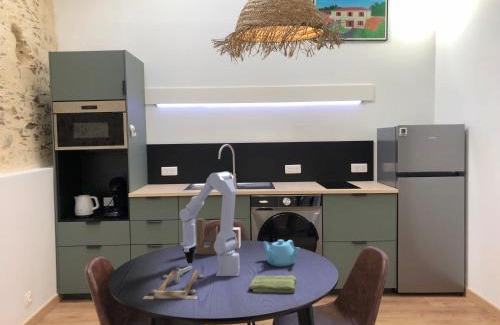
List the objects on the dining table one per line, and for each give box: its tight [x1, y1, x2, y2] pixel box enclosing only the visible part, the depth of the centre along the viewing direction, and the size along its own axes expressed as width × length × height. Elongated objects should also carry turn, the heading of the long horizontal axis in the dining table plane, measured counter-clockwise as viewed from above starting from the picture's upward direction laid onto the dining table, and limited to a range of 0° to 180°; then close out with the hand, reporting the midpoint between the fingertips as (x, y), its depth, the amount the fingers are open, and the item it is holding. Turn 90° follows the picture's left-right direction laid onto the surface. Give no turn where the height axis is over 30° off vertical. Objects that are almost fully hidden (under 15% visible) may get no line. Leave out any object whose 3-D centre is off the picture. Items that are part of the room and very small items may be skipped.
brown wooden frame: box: [195, 217, 219, 256], centre depth 193 cm, size 4×11×18 cm, turn 84°
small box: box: [233, 226, 242, 250], centre depth 204 cm, size 8×6×10 cm
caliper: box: [174, 265, 193, 285], centre depth 163 cm, size 20×1×6 cm, turn 171°
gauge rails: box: [142, 269, 204, 300], centre depth 152 cm, size 20×27×2 cm
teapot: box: [262, 239, 301, 268], centre depth 177 cm, size 15×15×11 cm
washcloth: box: [248, 274, 297, 294], centre depth 148 cm, size 13×18×3 cm
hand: (190, 262), depth 175 cm, fingers closed
